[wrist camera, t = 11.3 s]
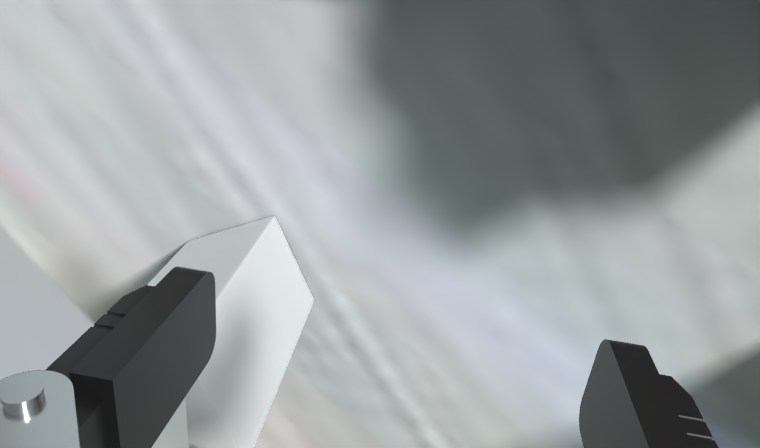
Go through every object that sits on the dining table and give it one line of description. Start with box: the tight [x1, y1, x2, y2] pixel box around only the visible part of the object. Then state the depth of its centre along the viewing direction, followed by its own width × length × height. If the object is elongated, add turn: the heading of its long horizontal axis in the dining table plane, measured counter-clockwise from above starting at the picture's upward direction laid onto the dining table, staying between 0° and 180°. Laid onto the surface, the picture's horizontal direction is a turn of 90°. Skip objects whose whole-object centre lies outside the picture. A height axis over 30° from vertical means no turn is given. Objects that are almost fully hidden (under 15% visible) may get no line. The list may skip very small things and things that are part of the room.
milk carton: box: [147, 216, 314, 448], centre depth 32 cm, size 7×7×19 cm
